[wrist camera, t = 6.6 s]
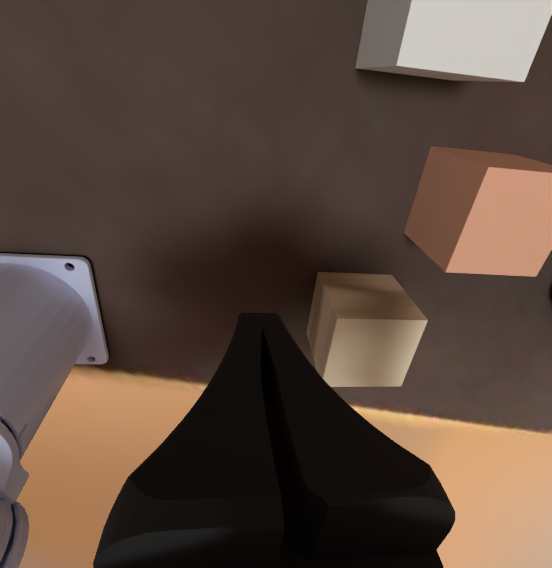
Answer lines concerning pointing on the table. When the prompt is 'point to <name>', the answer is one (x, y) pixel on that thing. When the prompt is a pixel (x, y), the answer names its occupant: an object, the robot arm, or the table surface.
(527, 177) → the terracotta block
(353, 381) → the birch block
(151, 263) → the table surface
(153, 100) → the table surface
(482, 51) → the light grey block
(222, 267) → the table surface
